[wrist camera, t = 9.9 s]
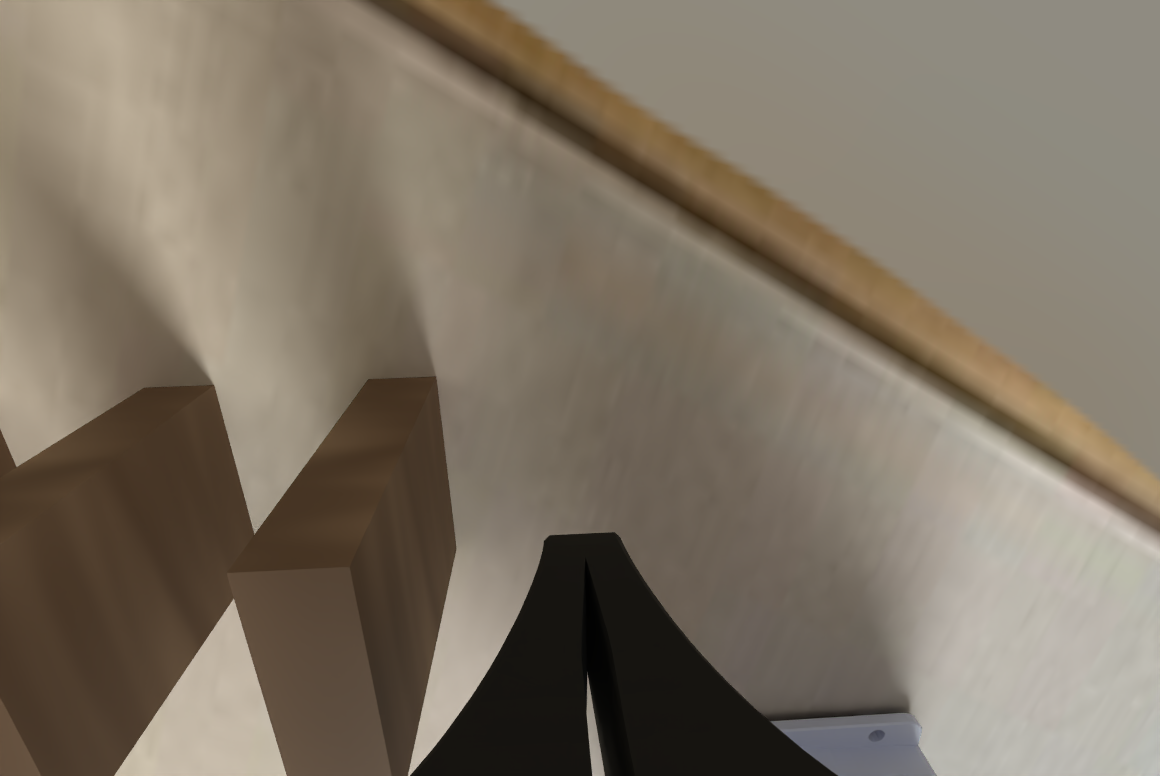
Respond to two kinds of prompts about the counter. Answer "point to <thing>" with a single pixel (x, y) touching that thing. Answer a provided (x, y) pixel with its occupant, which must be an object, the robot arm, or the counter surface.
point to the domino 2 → (353, 586)
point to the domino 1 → (112, 577)
